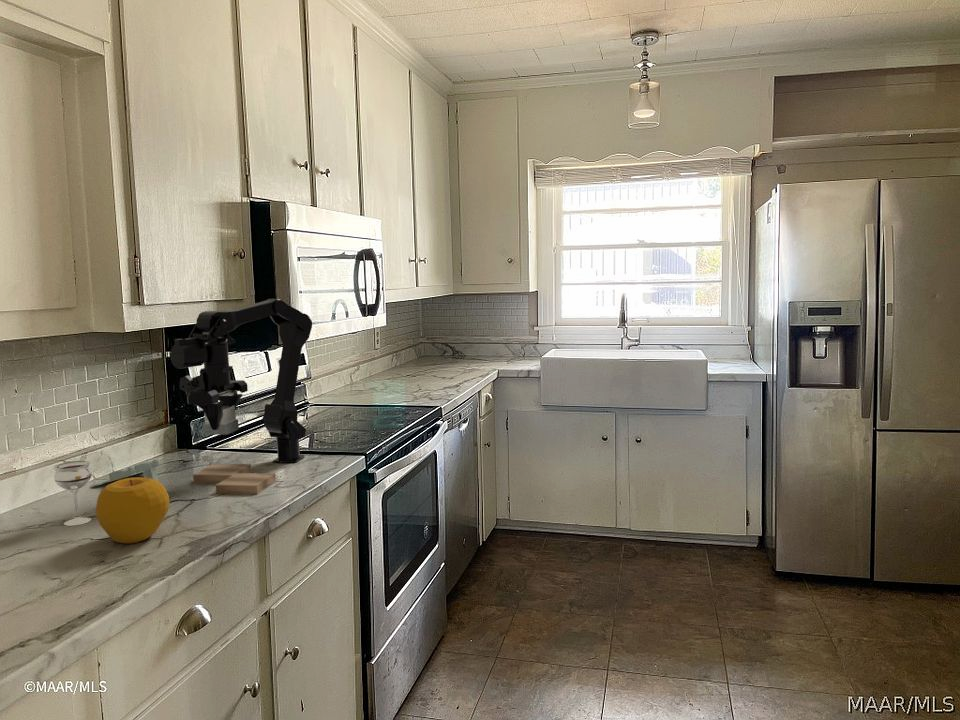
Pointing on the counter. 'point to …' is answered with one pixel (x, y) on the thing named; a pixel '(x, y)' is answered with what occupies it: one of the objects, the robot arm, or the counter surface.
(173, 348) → the robot arm
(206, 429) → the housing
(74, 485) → the wineglass
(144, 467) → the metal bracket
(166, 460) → the counter surface
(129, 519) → the apple
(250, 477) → the stand
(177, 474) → the counter surface
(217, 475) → the stand
